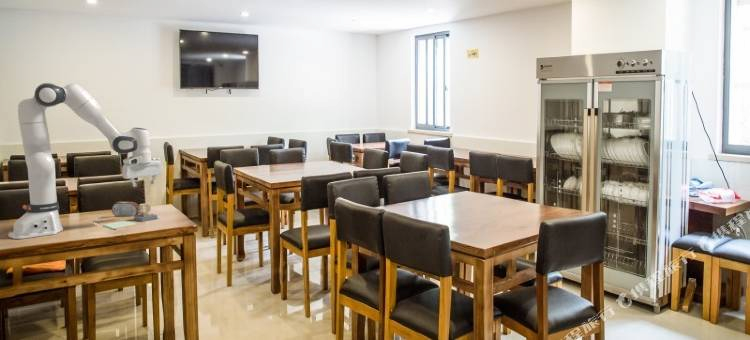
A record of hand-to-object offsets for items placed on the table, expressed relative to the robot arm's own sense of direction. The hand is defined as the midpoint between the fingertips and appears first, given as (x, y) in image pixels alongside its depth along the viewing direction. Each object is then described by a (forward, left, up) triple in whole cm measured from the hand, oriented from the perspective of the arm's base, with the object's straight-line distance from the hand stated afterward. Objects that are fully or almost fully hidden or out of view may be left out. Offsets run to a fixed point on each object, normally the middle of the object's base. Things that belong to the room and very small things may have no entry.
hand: (143, 185), depth 285 cm
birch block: (0, 0, -18) cm, 18 cm away
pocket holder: (0, 0, -19) cm, 19 cm away
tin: (-2, +18, -19) cm, 26 cm away
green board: (-14, -1, -19) cm, 24 cm away
